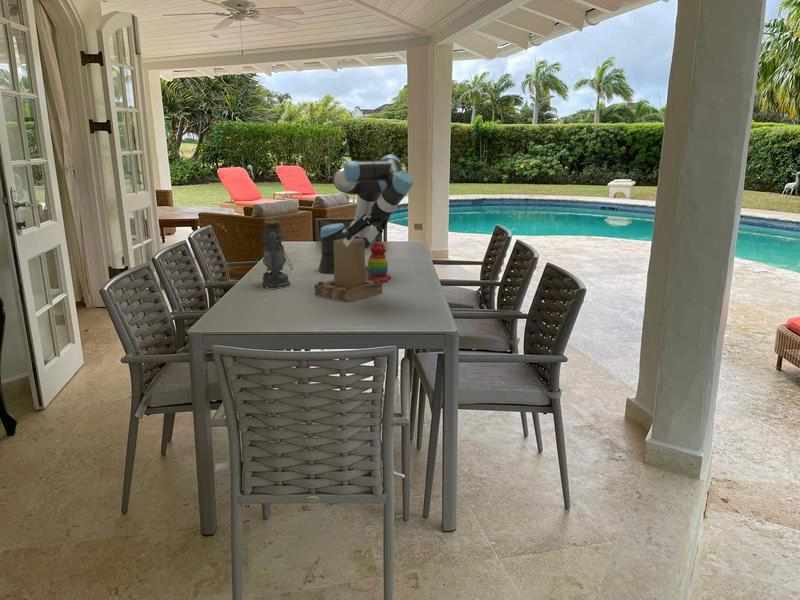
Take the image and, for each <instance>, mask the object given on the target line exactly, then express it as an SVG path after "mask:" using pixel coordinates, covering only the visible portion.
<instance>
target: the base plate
mask: <svg viewBox="0 0 800 600" xmlns="http://www.w3.org/2000/svg"><path fill="white" fill-rule="evenodd" d="M379 293H381V294H383V282H379V280H374V281H370V280H368V279H365V284H364V285H360V286H356V287H353V288H351V287H346V288H344V287H338V286H335V279H333V280H330V281H329V280H328V281H325V282H324V281H318V282H317V283H316V284H314V296H316V295H319V296H318V297H321V296H324V297H323V298H326V297H329V298H328V299H331V298H334V299H333V300H336V299H339V300H338V301H341V300H344V301H343V302H346V301H348V302H347V303H351V302H350V301H352V302H354V300H355V301H358V300H357V299H359V300H362V299H361V298H363V299H365V298H364V297H366V298H369V297H368V296H370V297H373V296H376V294H377V295H380V294H379ZM372 295H373V296H372Z"/></svg>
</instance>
